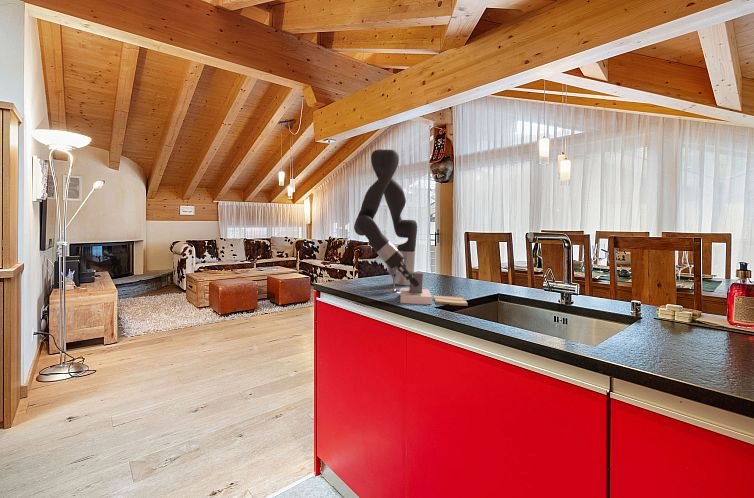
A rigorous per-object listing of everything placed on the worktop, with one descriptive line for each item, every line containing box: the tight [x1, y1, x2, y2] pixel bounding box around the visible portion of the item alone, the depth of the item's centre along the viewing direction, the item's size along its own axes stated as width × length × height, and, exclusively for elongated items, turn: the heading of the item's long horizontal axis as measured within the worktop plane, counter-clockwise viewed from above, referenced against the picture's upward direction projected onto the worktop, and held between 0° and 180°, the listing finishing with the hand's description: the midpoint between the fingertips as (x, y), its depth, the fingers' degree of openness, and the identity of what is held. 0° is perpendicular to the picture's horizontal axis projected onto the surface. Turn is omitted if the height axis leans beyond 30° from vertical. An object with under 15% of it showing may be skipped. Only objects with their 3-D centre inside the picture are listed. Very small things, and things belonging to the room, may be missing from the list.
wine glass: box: [386, 259, 404, 294], centre depth 169 cm, size 8×8×15 cm
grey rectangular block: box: [408, 271, 424, 293], centre depth 152 cm, size 4×5×11 cm
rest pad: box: [433, 295, 469, 307], centre depth 151 cm, size 13×12×1 cm
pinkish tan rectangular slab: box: [400, 287, 433, 306], centre depth 153 cm, size 18×12×3 cm, turn 176°
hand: (417, 284), depth 152 cm, fingers open, 8 cm apart
